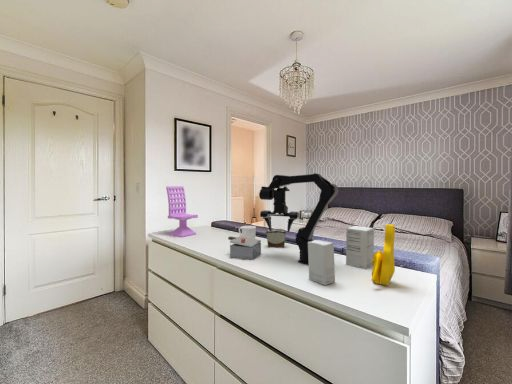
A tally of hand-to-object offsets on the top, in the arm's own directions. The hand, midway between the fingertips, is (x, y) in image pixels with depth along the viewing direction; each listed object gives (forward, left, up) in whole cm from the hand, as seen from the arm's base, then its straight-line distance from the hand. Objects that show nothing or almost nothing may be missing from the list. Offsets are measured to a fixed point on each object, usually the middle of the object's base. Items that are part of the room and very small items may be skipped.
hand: (279, 231), depth 126 cm
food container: (+17, -16, -13) cm, 27 cm away
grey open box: (+14, +10, -13) cm, 22 cm away
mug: (+34, -8, -13) cm, 37 cm away
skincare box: (-31, +11, -13) cm, 35 cm away
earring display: (+87, +9, -13) cm, 88 cm away
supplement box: (-32, -19, -13) cm, 40 cm away
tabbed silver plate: (+16, +11, -6) cm, 20 cm away
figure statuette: (-48, -4, -13) cm, 50 cm away
